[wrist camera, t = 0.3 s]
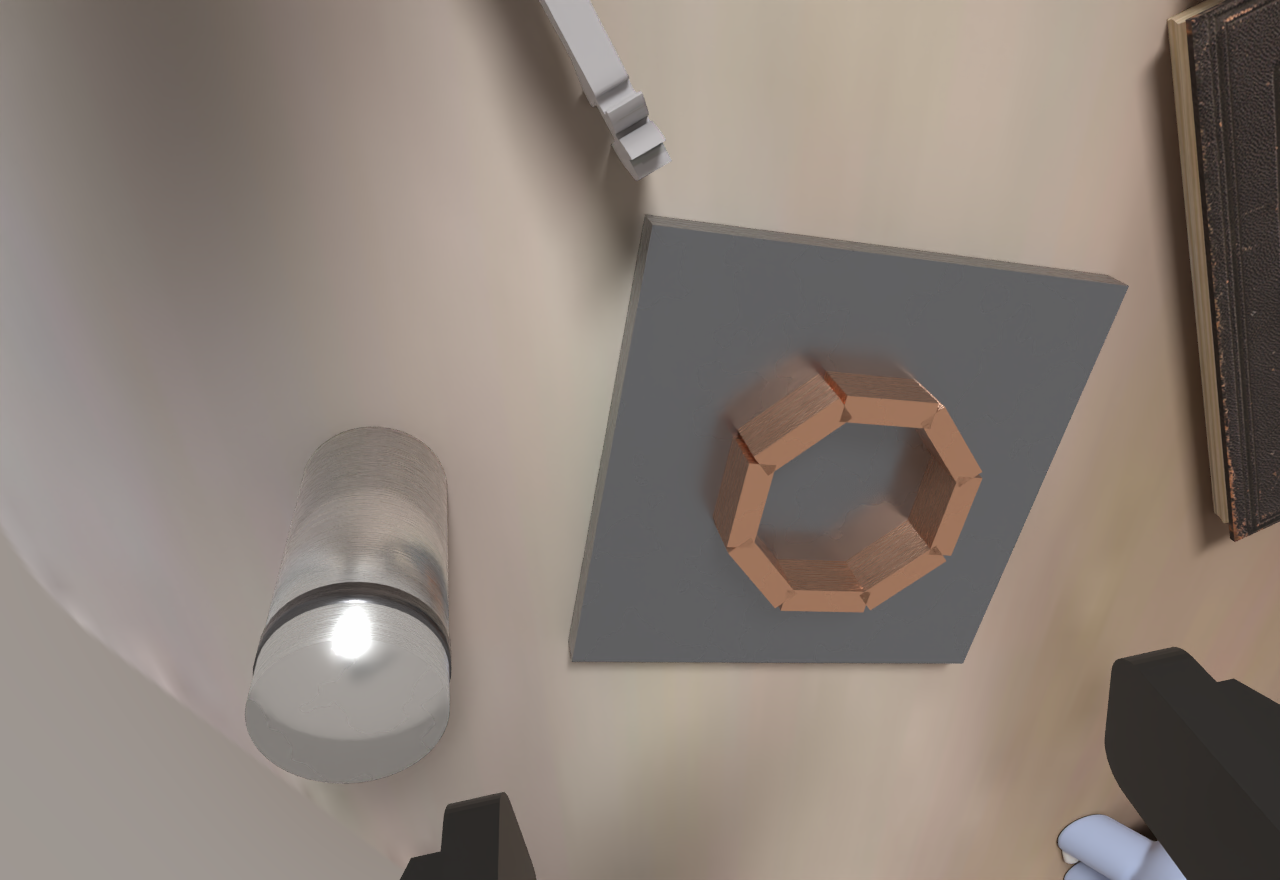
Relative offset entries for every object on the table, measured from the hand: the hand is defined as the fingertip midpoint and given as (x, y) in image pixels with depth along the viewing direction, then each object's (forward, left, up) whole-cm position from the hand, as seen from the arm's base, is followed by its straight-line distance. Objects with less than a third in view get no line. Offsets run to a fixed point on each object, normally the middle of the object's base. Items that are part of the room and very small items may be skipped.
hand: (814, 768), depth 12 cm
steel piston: (+9, -6, -21) cm, 24 cm away
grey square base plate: (+7, +11, -21) cm, 25 cm away
